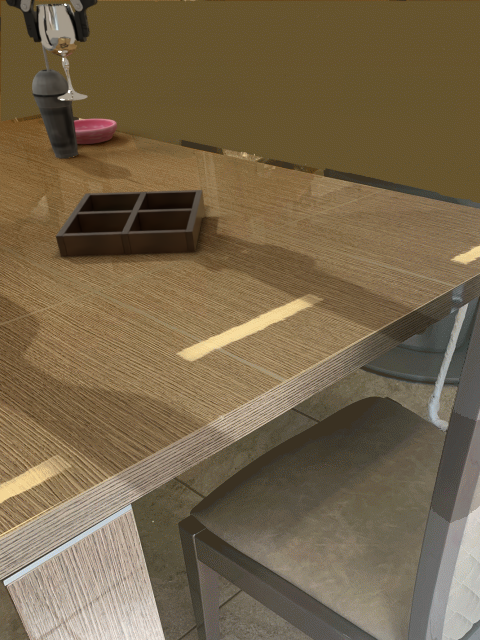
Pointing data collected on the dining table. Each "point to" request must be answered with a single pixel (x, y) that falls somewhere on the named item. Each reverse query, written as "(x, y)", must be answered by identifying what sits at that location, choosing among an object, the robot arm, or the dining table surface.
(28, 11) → the robot arm
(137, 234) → the tray
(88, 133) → the pink round shallow bowl
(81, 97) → the wineglass
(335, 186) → the dining table surface
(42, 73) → the beverage cup
